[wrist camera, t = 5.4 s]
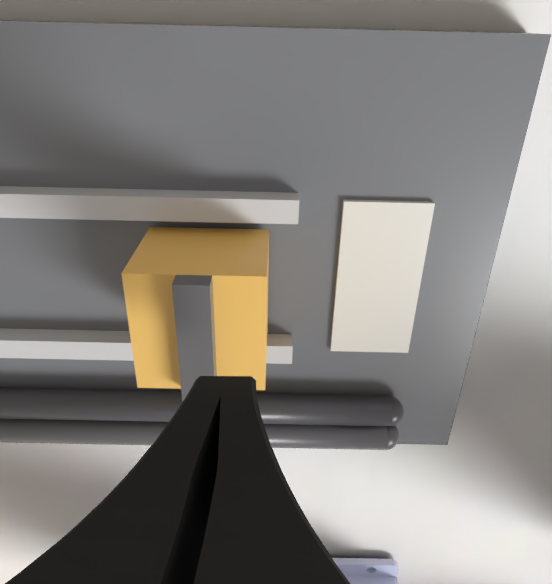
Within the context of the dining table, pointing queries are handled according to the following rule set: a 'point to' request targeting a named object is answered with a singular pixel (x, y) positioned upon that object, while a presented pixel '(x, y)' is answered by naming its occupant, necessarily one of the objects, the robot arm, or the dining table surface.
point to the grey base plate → (256, 214)
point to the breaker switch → (198, 305)
